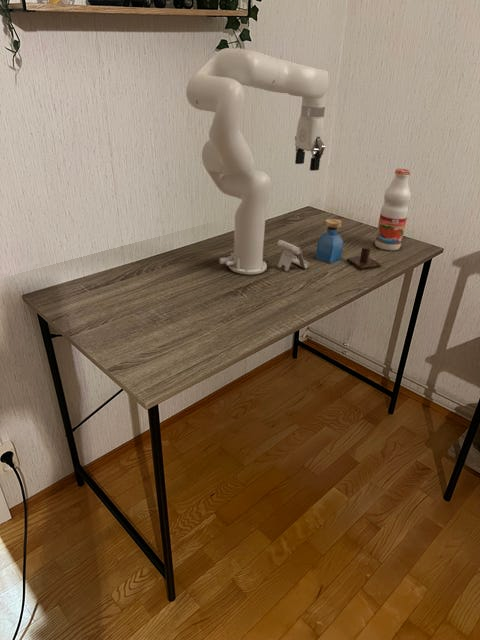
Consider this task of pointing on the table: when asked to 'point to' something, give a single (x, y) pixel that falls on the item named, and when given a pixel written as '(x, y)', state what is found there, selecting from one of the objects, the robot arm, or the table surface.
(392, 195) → the white yogurt drink bottle
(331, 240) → the perfume bottle
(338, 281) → the table surface
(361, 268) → the stand
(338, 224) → the chip
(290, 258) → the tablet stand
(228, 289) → the table surface
